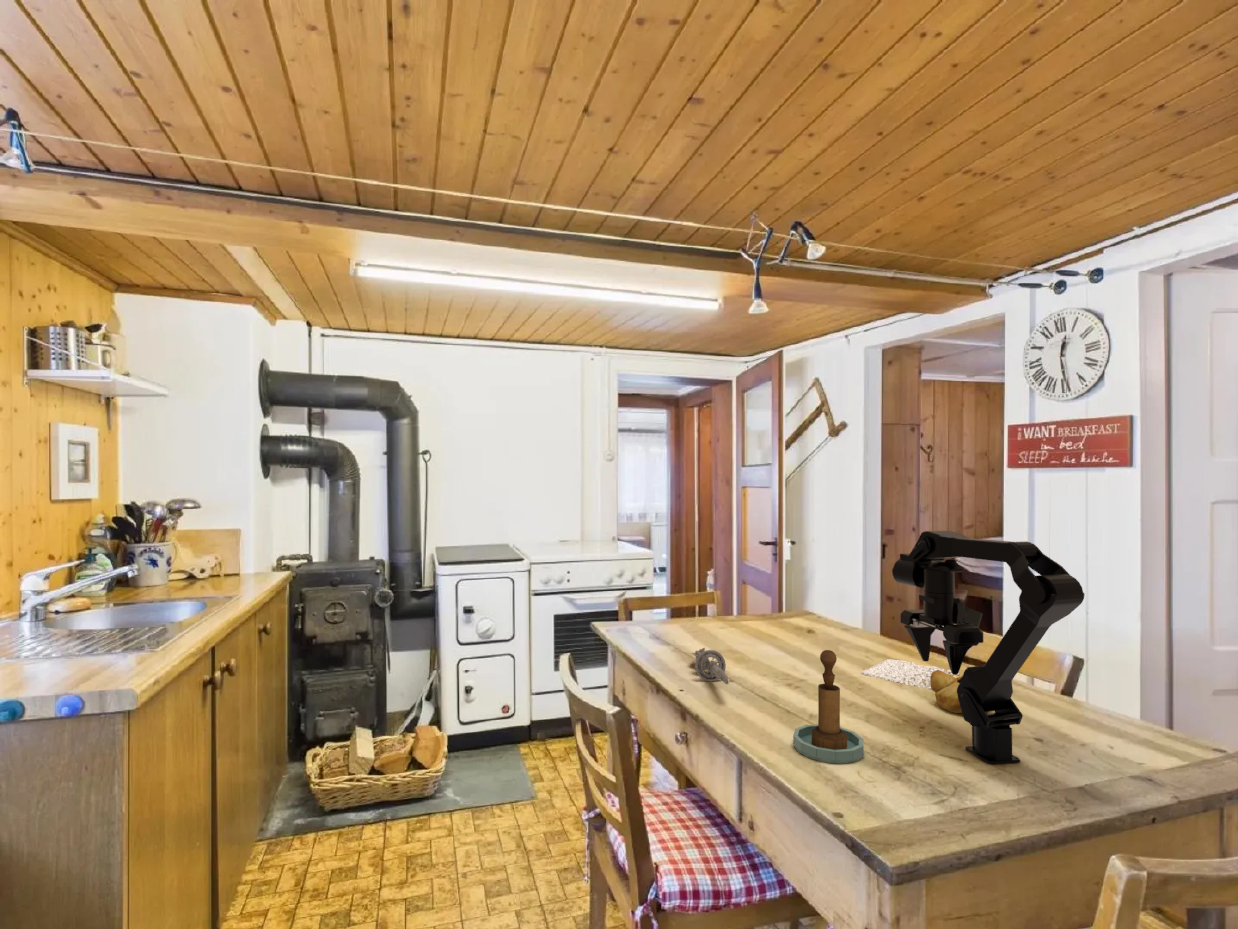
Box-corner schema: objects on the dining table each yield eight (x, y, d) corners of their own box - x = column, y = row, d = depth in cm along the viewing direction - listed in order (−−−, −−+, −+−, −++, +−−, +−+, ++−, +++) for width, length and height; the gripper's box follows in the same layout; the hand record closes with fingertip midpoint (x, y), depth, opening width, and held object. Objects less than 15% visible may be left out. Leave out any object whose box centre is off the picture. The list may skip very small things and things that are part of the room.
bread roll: (980, 702, 145) (979, 667, 145) (1006, 717, 135) (1006, 680, 135) (925, 702, 145) (925, 667, 145) (948, 717, 135) (947, 680, 135)
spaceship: (705, 670, 142) (736, 656, 143) (679, 646, 176) (704, 635, 177) (718, 703, 141) (749, 689, 142) (690, 673, 176) (715, 662, 177)
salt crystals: (889, 661, 179) (889, 656, 179) (963, 677, 165) (963, 671, 165) (858, 676, 165) (858, 670, 165) (937, 695, 151) (937, 688, 151)
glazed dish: (877, 761, 113) (876, 749, 113) (811, 765, 111) (811, 753, 112) (842, 734, 126) (842, 723, 126) (783, 737, 124) (783, 726, 124)
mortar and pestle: (850, 754, 115) (848, 656, 115) (813, 751, 116) (812, 654, 117) (844, 739, 121) (843, 647, 122) (809, 737, 123) (808, 645, 123)
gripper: (1008, 599, 120) (1009, 680, 120) (944, 583, 138) (945, 653, 138) (955, 600, 118) (956, 682, 118) (898, 584, 137) (899, 655, 136)
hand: (939, 667), depth 128 cm, fingers open, 9 cm apart
